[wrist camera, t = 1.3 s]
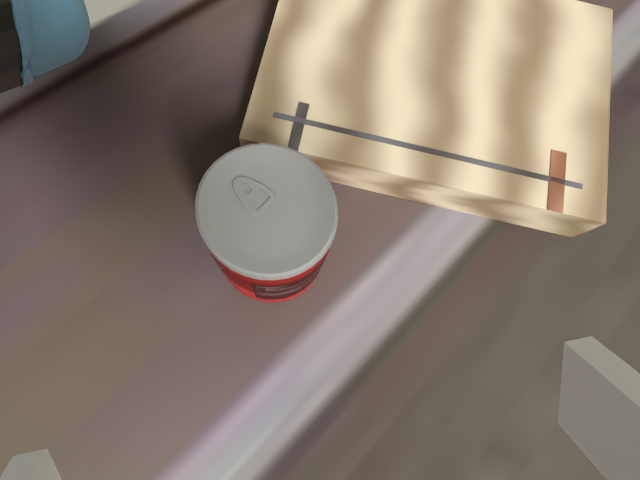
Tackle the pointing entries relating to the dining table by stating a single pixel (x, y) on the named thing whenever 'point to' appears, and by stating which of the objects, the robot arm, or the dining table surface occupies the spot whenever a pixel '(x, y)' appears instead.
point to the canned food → (267, 219)
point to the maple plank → (446, 102)
